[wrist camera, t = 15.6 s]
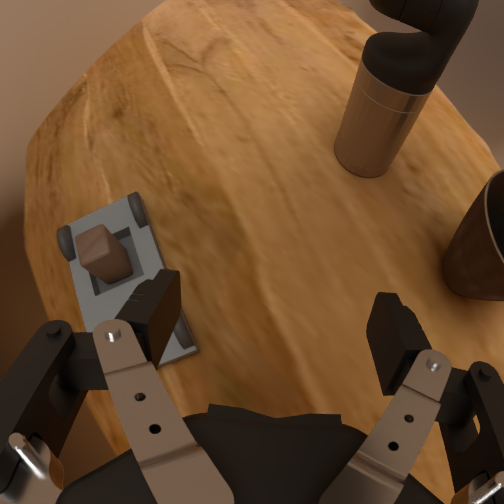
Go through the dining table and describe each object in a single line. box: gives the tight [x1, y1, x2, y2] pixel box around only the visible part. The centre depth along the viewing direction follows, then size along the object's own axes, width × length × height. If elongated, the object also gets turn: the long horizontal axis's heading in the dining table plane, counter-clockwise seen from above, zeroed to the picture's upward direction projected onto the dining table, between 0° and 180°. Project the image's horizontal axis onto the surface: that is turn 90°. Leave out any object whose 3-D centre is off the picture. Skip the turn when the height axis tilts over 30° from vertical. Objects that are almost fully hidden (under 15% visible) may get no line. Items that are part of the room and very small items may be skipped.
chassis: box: [57, 192, 199, 368], centre depth 37 cm, size 22×12×5 cm, turn 25°
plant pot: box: [443, 170, 504, 301], centre depth 32 cm, size 15×15×16 cm
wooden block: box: [75, 224, 133, 284], centre depth 36 cm, size 4×4×8 cm
